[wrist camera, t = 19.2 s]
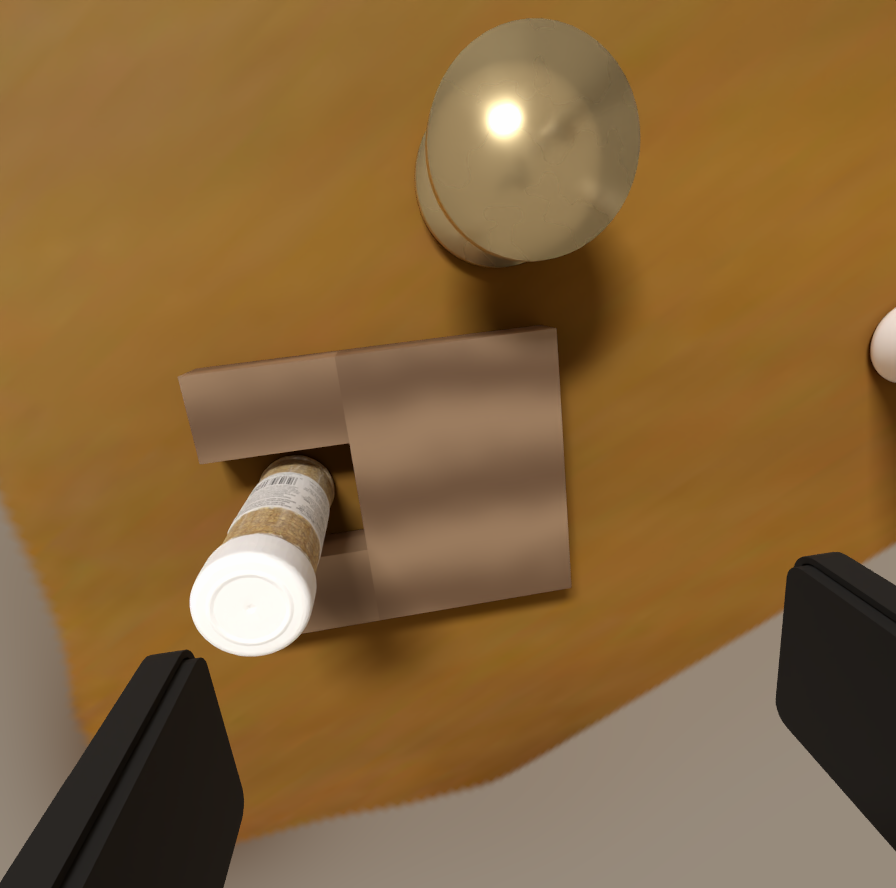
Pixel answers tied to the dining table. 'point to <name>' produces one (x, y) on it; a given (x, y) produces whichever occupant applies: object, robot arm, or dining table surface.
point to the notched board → (414, 464)
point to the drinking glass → (885, 347)
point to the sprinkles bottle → (267, 562)
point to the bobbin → (527, 145)
